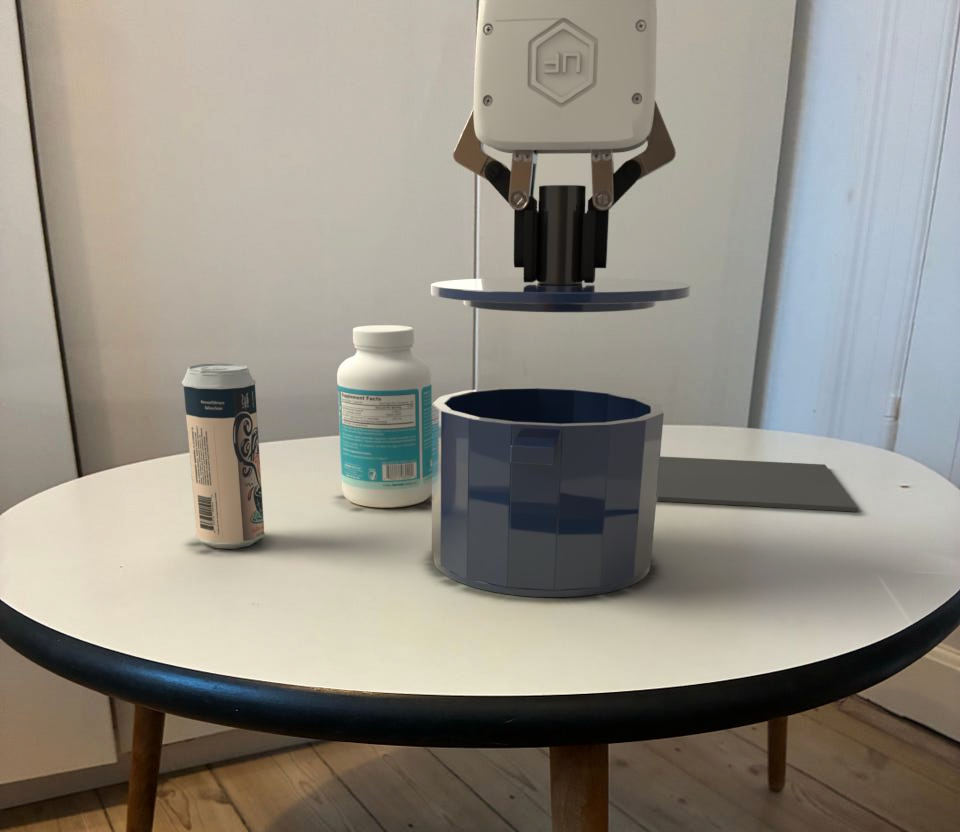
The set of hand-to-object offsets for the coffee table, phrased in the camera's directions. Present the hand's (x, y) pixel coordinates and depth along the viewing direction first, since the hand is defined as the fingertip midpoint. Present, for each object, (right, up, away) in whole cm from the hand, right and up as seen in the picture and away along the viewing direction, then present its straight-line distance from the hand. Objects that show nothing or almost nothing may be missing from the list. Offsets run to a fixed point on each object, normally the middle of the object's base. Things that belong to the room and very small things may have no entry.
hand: (560, 278), depth 63 cm
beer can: (-22, -15, +10) cm, 29 cm away
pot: (-1, -17, +7) cm, 18 cm away
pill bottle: (-12, -11, +22) cm, 27 cm away
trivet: (+19, -8, +29) cm, 35 cm away
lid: (0, -1, 0) cm, 1 cm away
